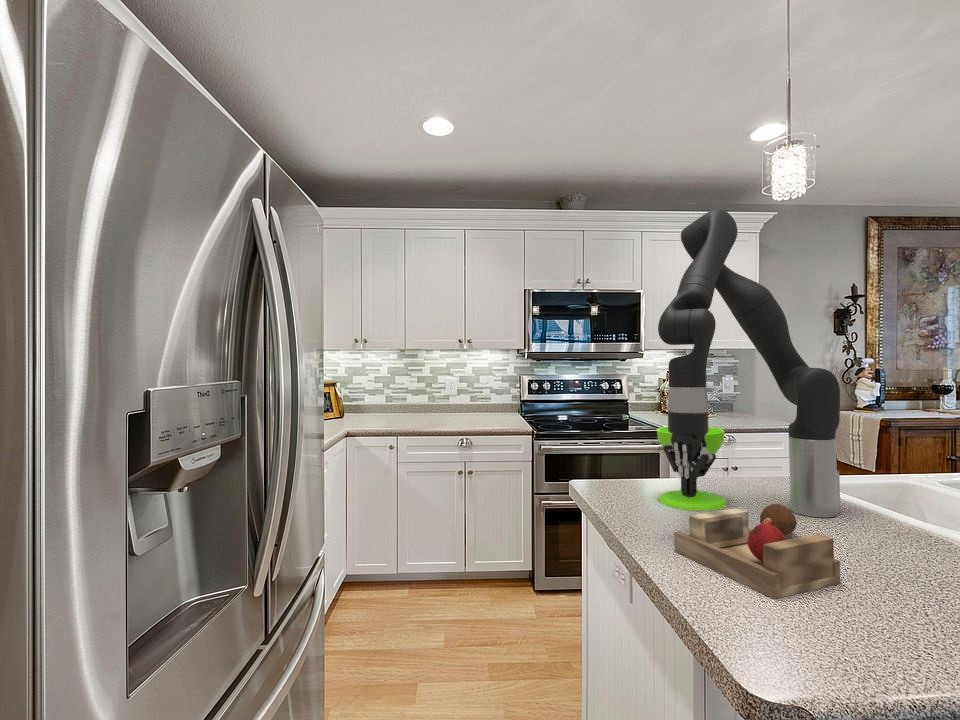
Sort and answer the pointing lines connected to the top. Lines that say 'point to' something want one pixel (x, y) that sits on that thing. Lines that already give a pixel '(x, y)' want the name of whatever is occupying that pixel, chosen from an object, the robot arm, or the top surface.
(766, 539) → the onion
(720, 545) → the jaw
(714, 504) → the wineglass
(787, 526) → the potato
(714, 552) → the vise base
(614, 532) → the top surface
